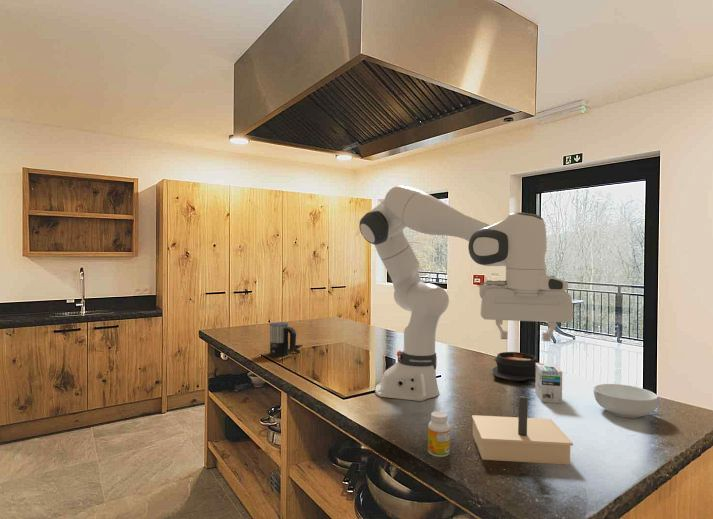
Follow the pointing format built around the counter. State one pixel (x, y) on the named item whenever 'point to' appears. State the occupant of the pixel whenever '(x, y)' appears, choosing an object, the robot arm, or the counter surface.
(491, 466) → the counter surface
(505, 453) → the tray
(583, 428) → the counter surface
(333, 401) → the counter surface
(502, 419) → the mailer lid
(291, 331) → the milk frother
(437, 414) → the supplement bottle
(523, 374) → the casserole
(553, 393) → the light bulb box
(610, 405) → the cereal bowl
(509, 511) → the counter surface
